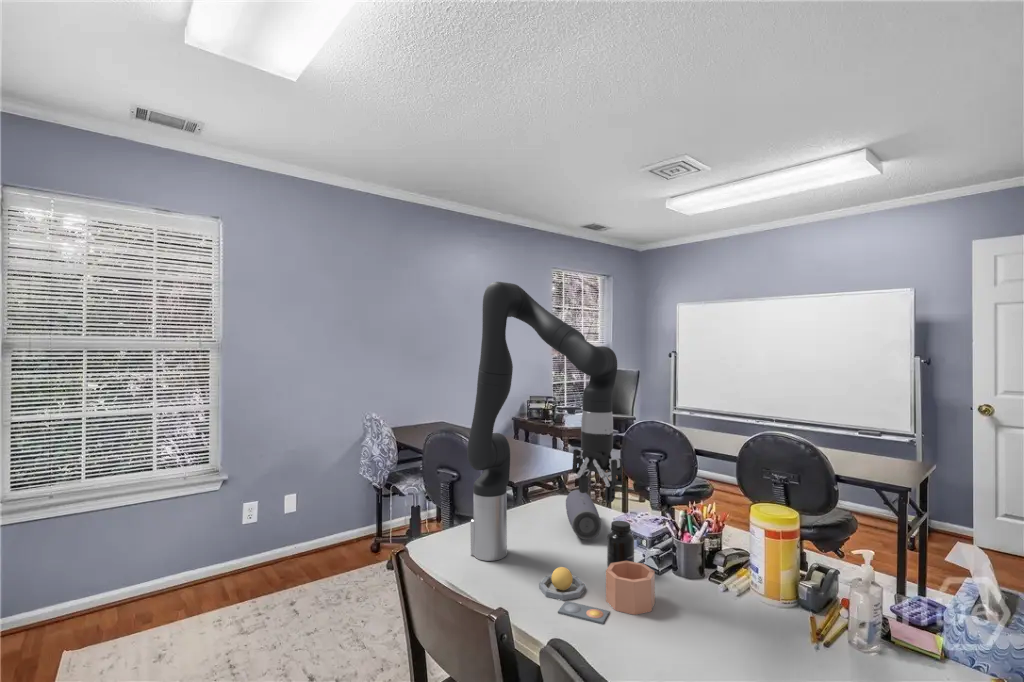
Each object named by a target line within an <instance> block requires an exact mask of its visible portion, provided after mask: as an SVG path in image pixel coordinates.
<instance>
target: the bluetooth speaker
mask: <svg viewBox="0 0 1024 682" xmlns="http://www.w3.org/2000/svg"><path fill="white" fill-rule="evenodd" d="M565 509H566V514H567V515H566V516H567V519H568V521H569V524H570V526H571V528H572V531H573V532H574V533H575V535H576V536H577V537H578V538H580V539H582V540H592V539H594V538H596V537H598V535H599V534H600V532H601V529H602V521H601V517H600V515H599V512H598V509H597V507H596V505H595V502H593V499H592V498H591V496H590V495H589V494H588V492H586V493H580V492H579V489H574V490H572V491H570V492H569V493H568V494H567V497H566V499H565Z"/></svg>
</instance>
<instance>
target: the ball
mask: <svg viewBox="0 0 1024 682" xmlns="http://www.w3.org/2000/svg"><path fill="white" fill-rule="evenodd" d="M551 575H552V582H551V583H552V585H553V586H554V588H556V590H559V591H566V590H568V589H570V588H571V586H572V584H573V583H572V581H573V577H572V576H573V574H572V572H571V571H570V570H569V569H568V568H567V567H565V566H564V567H563V566H559V567H557V568H555V569H554V570H553V571H552V574H551Z"/></svg>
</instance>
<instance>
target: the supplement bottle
mask: <svg viewBox="0 0 1024 682" xmlns="http://www.w3.org/2000/svg"><path fill="white" fill-rule="evenodd" d="M606 539H607V540H606V542H607V543H606V544H607V546H606V548H607V549H606V552H607V553H606V556H607V557H606V559H607V560H606V563H607V568H608V567H609V565H610V564H611V563H615V562H621V561H631V562H635V537H634V535H633V534H632V533H631V523H630V522H628V521H625V520H613V521H611V525H610V532H609V533H608V534H607V537H606ZM607 568H606V569H607Z"/></svg>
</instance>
